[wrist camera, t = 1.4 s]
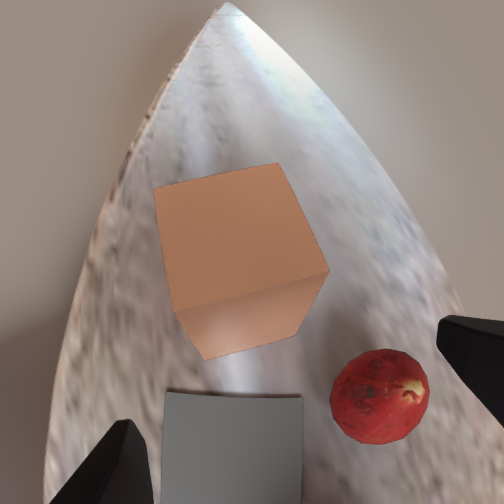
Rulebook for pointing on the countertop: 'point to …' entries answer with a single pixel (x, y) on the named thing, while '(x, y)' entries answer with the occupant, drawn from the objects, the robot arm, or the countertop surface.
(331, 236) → the countertop surface
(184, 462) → the mat
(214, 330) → the tan rectangular block
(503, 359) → the robot arm
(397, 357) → the onion
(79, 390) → the countertop surface
